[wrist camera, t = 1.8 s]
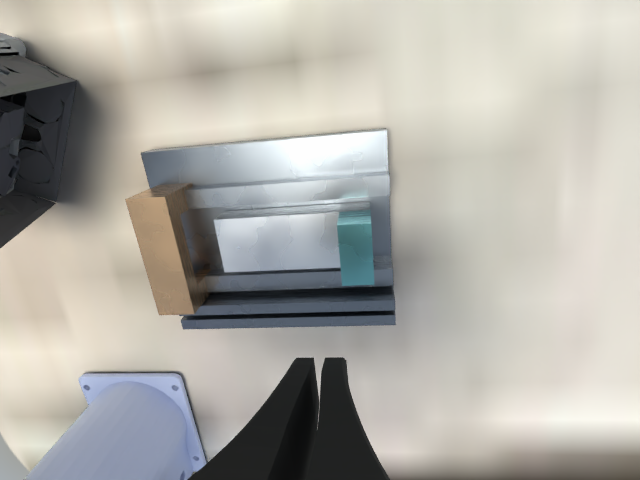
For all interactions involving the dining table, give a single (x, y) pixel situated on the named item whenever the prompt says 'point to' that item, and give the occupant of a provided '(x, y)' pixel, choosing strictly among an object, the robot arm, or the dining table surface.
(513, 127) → the dining table surface
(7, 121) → the electrical switch
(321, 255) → the white and teal block
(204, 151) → the base
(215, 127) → the dining table surface
